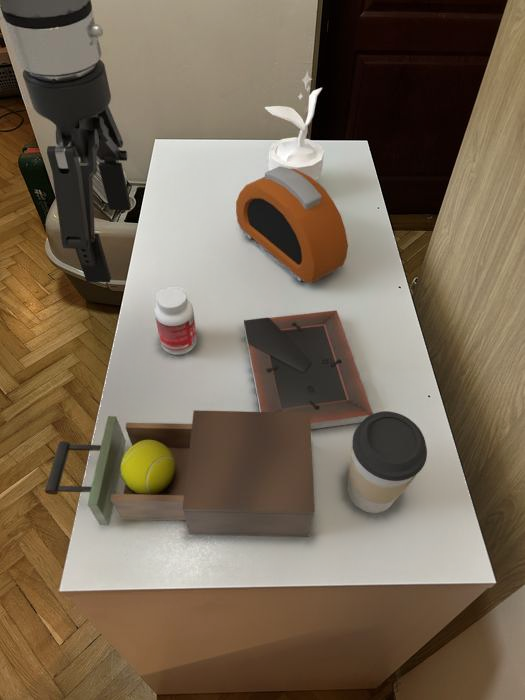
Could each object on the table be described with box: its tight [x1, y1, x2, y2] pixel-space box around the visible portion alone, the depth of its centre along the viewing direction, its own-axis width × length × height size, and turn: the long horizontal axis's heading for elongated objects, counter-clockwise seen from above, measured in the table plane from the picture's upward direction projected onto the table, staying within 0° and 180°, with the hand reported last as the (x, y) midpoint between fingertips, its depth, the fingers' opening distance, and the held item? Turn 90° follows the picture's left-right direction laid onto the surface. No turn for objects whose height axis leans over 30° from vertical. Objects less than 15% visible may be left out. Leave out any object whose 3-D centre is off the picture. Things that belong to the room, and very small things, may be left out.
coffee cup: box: [347, 410, 428, 514], centre depth 69 cm, size 9×9×15 cm
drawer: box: [44, 415, 192, 527], centre depth 71 cm, size 21×13×7 cm, turn 89°
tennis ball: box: [120, 440, 176, 495], centre depth 70 cm, size 7×7×7 cm
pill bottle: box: [154, 286, 198, 356], centre depth 86 cm, size 6×6×11 cm
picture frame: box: [243, 309, 374, 430], centre depth 86 cm, size 16×2×22 cm
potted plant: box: [264, 69, 325, 181], centre depth 108 cm, size 13×12×25 cm
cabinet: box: [183, 409, 316, 538], centre depth 71 cm, size 16×14×9 cm
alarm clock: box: [235, 166, 349, 284], centre depth 99 cm, size 23×9×17 cm, turn 39°
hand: (110, 242), depth 66 cm, fingers open, 13 cm apart
